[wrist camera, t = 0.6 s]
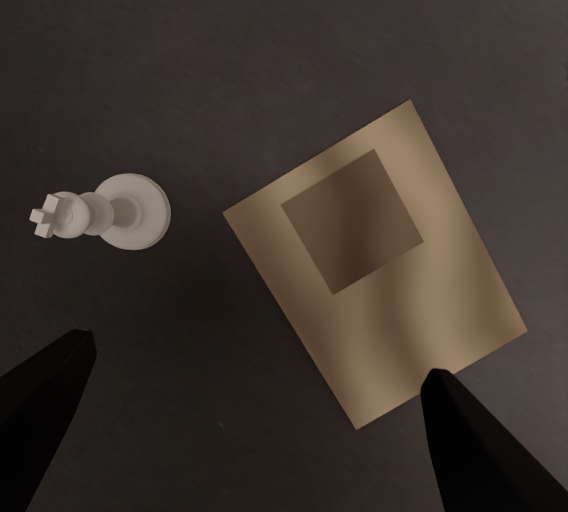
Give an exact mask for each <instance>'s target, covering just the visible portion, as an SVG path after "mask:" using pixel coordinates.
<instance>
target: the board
mask: <svg viewBox="0 0 568 512" xmlns="http://www.w3.org/2000/svg"><path fill="white" fill-rule="evenodd" d="M222 213H223V215H224V216H225V218H226V220H227V221H228V223H229V225H230V226H231V228H232V229H233V231H234V233H235V234H236V236H237V238H238V239H239V241H240V242H241V244H242V246H243V247H244V249H245V251H246V252H247V254H248V255H249V257H250V259H251V260H252V262H253V263H254V265H255V267H256V268H257V270H258V272H259V273H260V275H261V276H262V278H263V280H264V281H265V283H266V285H267V286H268V288H269V289H270V291H271V293H272V294H273V296H274V297H275V299H276V301H277V302H278V304H279V306H280V307H281V309H282V310H283V312H284V314H285V315H286V317H287V319H288V320H289V322H290V323H291V325H292V327H293V328H294V330H295V332H296V333H297V335H298V336H299V338H300V340H301V341H302V343H303V344H304V346H305V348H306V349H307V351H308V353H309V354H310V356H311V357H312V359H313V361H314V362H315V364H316V366H317V367H318V369H319V370H320V372H321V374H322V375H323V377H324V378H325V380H326V382H327V383H328V385H329V387H330V388H331V390H332V391H333V393H334V395H335V396H336V398H337V400H338V401H339V403H340V404H341V406H342V408H343V409H344V411H345V413H346V414H347V416H348V417H349V419H350V421H351V422H352V424H353V425H354V427H355V429H356V430H357V429H359V428H361V427H362V426H364V425H366V424H368V423H369V422H371V421H373V420H375V419H376V418H378V417H380V416H381V415H383V414H385V413H387V412H388V411H390V410H392V409H394V408H395V407H397V406H399V405H401V404H402V403H404V402H406V401H408V400H409V399H411V398H413V397H414V396H416V395H418V394H420V389H421V386H422V384H423V382H424V380H425V378H426V377H427V375H428V373H429V371H430V370H431V369H432V368H441V369H447V370H449V371H450V372H451V373H452V374H454V373H456V372H458V371H460V370H461V369H463V368H465V367H466V366H468V365H470V364H472V363H473V362H475V361H477V360H479V359H480V358H482V357H484V356H486V355H487V354H489V353H491V352H493V351H494V350H496V349H498V348H499V347H501V346H503V345H505V344H506V343H508V342H510V341H512V340H513V339H515V338H517V337H519V336H520V335H522V334H524V333H525V332H527V329H526V327H525V325H524V323H523V321H522V319H521V317H520V315H519V313H518V311H517V309H516V307H515V305H514V303H513V301H512V299H511V297H510V295H509V293H508V291H507V289H506V287H505V285H504V283H503V281H502V279H501V277H500V275H499V273H498V271H497V270H496V268H495V266H494V264H493V262H492V260H491V258H490V256H489V254H488V252H487V250H486V248H485V246H484V244H483V242H482V240H481V238H480V236H479V234H478V232H477V230H476V228H475V226H474V224H473V222H472V220H471V218H470V216H469V214H468V212H467V210H466V208H465V206H464V204H463V202H462V200H461V198H460V196H459V195H458V193H457V191H456V189H455V187H454V185H453V183H452V181H451V179H450V177H449V175H448V173H447V171H446V169H445V167H444V165H443V163H442V161H441V159H440V157H439V155H438V153H437V151H436V149H435V147H434V145H433V143H432V141H431V139H430V137H429V135H428V133H427V131H426V129H425V127H424V125H423V123H422V121H421V120H420V118H419V116H418V114H417V112H416V110H415V108H414V106H413V104H412V102H411V100H408V101H406V102H405V103H403V104H402V105H400V106H398V107H397V108H395V109H393V110H392V111H390V112H388V113H387V114H385V115H383V116H382V117H380V118H378V119H377V120H375V121H373V122H372V123H370V124H368V125H367V126H365V127H363V128H362V129H360V130H358V131H357V132H355V133H353V134H352V135H350V136H348V137H347V138H345V139H343V140H342V141H340V142H338V143H337V144H335V145H334V146H332V147H330V148H329V149H327V150H325V151H324V152H322V153H320V154H319V155H317V156H315V157H314V158H312V159H310V160H309V161H307V162H305V163H304V164H302V165H300V166H299V167H297V168H295V169H294V170H292V171H290V172H289V173H287V174H285V175H284V176H282V177H280V178H279V179H277V180H275V181H274V182H272V183H270V184H269V185H267V186H266V187H264V188H262V189H261V190H259V191H257V192H256V193H254V194H252V195H251V196H249V197H247V198H246V199H244V200H242V201H241V202H239V203H237V204H236V205H234V206H232V207H231V208H229V209H227V210H226V211H224V212H222Z"/></svg>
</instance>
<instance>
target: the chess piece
mask: <svg viewBox="0 0 568 512" xmlns="http://www.w3.org/2000/svg"><path fill="white" fill-rule="evenodd" d="M170 219H171V209H170V204H169V201H168V198H167V196H166V194H165V193H164V191H163V190H162V188H161V187H160V186H159V185H158V184H157V183H155V182H154V181H153V180H151V179H150V178H148V177H145V176H143V175H139V174H133V173H127V174H120V175H116V176H113V177H111V178H109V179H107V180H105V181H104V182H103V183H102V184H101V185H100V186H99V187H98V188H97V189H96V191H95V193H94V192H87V193H83V194H81V195H79V196H78V195H76V194H74V193H71V192H58V193H55V194H48V196H47V199H46V201H45V203H44V205H43V208H42V209H33V210H32V213H31V216H30V219H29V220H31V221H34V222H36V223H38V225H37V228H36V231H35V234H36V235H39V236H42V237H44V238H49V237H52V235H53V234H55V235H56V236H59V237H62V238H74V237H77V236H79V235H81V234H83V233H84V234H87V235H100V236H101V237H102V238H103V239H104V240H105V241H107V242H108V243H109V244H111V245H113V246H115V247H118V248H121V249H127V250H140V249H145V248H148V247H150V246H152V245H154V244H155V243H157V242H158V241H159V240H160V239H161V238H162V237H163V236H164V234H165V233H166V231H167V229H168V227H169V224H170Z"/></svg>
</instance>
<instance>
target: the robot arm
mask: <svg viewBox="0 0 568 512" xmlns="http://www.w3.org/2000/svg"><path fill="white" fill-rule="evenodd" d="M96 355H97V351H96V346H95V341H94V337H93V333H92V331H91V330H88V329H79V328H75V329H72V330H70V331H69V332H67V333H66V334H64V335H63V336H61V337H60V338H58V339H57V340H55V341H54V342H52V343H51V344H49V345H48V346H46V347H45V348H43V349H42V350H40V351H39V352H37V353H36V354H34V355H33V356H31V357H30V358H28V359H27V360H25V361H24V362H22V363H21V364H19V365H18V366H16V367H15V368H13V369H12V370H10V371H9V372H7V373H6V374H4V375H3V376H1V377H0V512H25V511H26V509H27V507H28V505H29V504H30V502H31V500H32V498H33V496H34V494H35V492H36V490H37V488H38V486H39V484H40V482H41V480H42V478H43V476H44V474H45V472H46V470H47V468H48V466H49V464H50V462H51V460H52V459H53V457H54V455H55V453H56V451H57V449H58V447H59V445H60V443H61V441H62V439H63V437H64V435H65V433H66V431H67V429H68V427H69V425H70V423H71V421H72V419H73V417H74V414H75V412H76V410H77V407H78V405H79V402H80V399H81V397H82V394H83V391H84V389H85V386H86V384H87V381H88V378H89V376H90V373H91V370H92V368H93V365H94V363H95V360H96ZM420 396H421V402H422V409H423V415H424V422H425V428H426V435H427V441H428V447H429V452H430V456H431V460H432V464H433V468H434V472H435V475H436V479H437V483H438V487H439V491H440V495H441V498H442V502H443V506H444V510H445V512H568V491H567V490H566V489H565V488H564V487H563V486H562V485H561V484H560V483H559V482H558V481H557V480H556V479H555V478H554V477H553V476H552V475H551V474H550V473H549V472H548V471H547V470H546V468H545V467H544V466H543V465H542V464H541V463H540V462H539V461H538V460H537V459H536V458H535V457H534V456H533V455H532V454H531V453H530V452H529V451H528V450H527V449H526V448H525V447H524V446H523V445H522V444H521V443H520V442H519V441H518V440H517V439H516V438H515V437H514V436H513V435H512V434H511V433H510V432H509V431H508V430H507V429H506V428H505V427H504V426H503V425H502V424H501V423H500V422H499V421H498V420H497V419H496V418H495V417H494V416H493V415H492V414H491V413H490V412H489V411H488V410H487V409H486V408H485V407H484V405H483V404H482V403H481V402H480V401H479V400H478V399H477V398H476V397H475V396H474V395H473V394H472V393H471V392H470V391H469V390H468V389H467V388H466V387H465V386H464V385H463V384H462V383H461V382H460V381H459V380H458V379H457V378H456V377H455V376H454V375H453V374H452V373H451V372H450V371H449V370H447V369H441V368H432V369H431V370H430V371H429V373H428V375H427V377H426V378H425V380H424V382H423V384H422V386H421V389H420Z"/></svg>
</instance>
